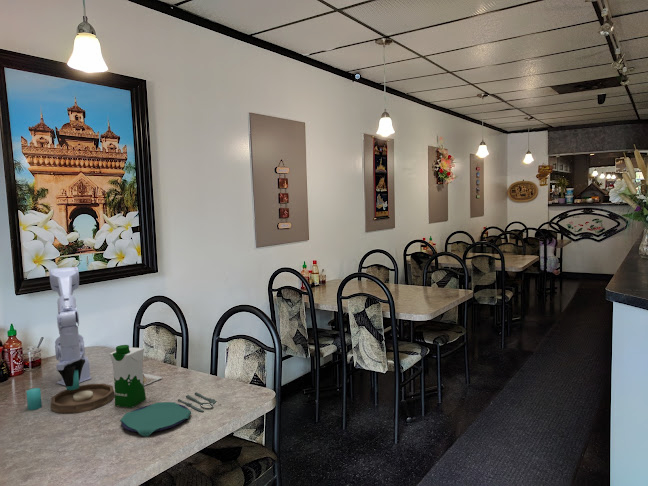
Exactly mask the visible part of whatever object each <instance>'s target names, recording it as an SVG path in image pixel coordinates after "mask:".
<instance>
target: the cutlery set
mask: <svg viewBox="0 0 648 486" xmlns="http://www.w3.org/2000/svg"><path fill="white" fill-rule="evenodd" d="M194 395H195V396H197V397H199V398H200V397H201V399H202V398H203V400H206V401H208V402H201V401H199V400H197V398H195V397H193V396H191V395H189V394H187V395H185V398H186V399H189V400H191V401H194V402H196V403H198V404H199V406H200V407H201V408H202V409H201V408H199V407H197V406H195V405H193V404H192V403H191V402H186V401H183V400H182V399H181V398H178V399H177V401H178V402H180V403H183V405H182V404H180V403H176V402H173V401H164V402H163V401H161V402H159V401H158V402H155V403H152V404H148V405H145V406H141V407H139V408H137V409H134V410H131V411H129V412H126V413H125V414H124V415H123V416H122V417H121V419H120V420H119V422H121V427H122V428H124V429H125V430H127V431H130V432H136V433H138V434H139V435H140V436H143V437H149V436H150V435H151V434H152V433H154V432H158V431H159V432H161V431H164V430H168V429H171V428H174V427H176V426H178V425H180V424H182V423H183V422H184V421H188V420H189V418H190V416H191V415H192V411H191V409H194V410H195V411H197V412H199V413H204V412H205V411H204V408H205V409H206V410H210V409H211V406H212V408H214V404H215V403H216V402H218V401H217V400H216V399H214V398H212V397H206V396H204V395H202V394H201V393H199V392H198V391H197V392H194ZM211 403H213V404H211ZM184 404H185V405H184ZM203 404H210V405H211V406H210V405H209V406H210V407H203V406H204V405H203ZM201 405H202V406H201ZM187 406H188V407H189V408H191V409H189V408H188V407H187Z"/></svg>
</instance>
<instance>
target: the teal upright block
mask: <svg viewBox="0 0 648 486" xmlns="http://www.w3.org/2000/svg"><path fill="white" fill-rule="evenodd" d="M79 386H80V383H79V376H78V370H76V369H75V371H74V376H73V386H65V387H66V389H65V390H75V389H78V388H79Z"/></svg>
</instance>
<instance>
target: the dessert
mask: <svg viewBox="0 0 648 486" xmlns="http://www.w3.org/2000/svg"><path fill="white" fill-rule="evenodd" d="M145 377H146V378H148V379H149V378H150V379H154V380H152V381H150V382H148V383H146V382H147V380H146V378H145ZM163 378H164V377H161V376H158V375H153V374H149V373H144V372H143V380H144V383H145V384H144V387H145V386H148V385H150V384H153V383H155V382H157V381H160V380H162V379H163Z"/></svg>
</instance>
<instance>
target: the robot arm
mask: <svg viewBox="0 0 648 486" xmlns="http://www.w3.org/2000/svg"><path fill="white" fill-rule="evenodd" d="M48 272H49V283H50V288H51V290H52V291H53V292H56V293H57V294H58V296H59V298H58V299H57V301H56V302H57V314H56V320H57V321H56V322H57V329H58V333H59V336H58V337H57V338H56V339H55V342H54V350H55V351H54V352H55V360H57V361H58V362H57V363H56V365H55V367H56V371H57V372H58V373H59V374H60V377H61V380H59V381H56V384H58V385H62V386H65V387H66V386H73V376H74V371H75V369H76V370H78V376H79V384H80V383H82V382H85V381H88V380H91V379H92V377H91V369H90V360H89V358H88V357H87V356H86V353H85V352H86V351H85V341H84V337H83V335H81V334H79V325H80V317H79V311H78V308H77V304H76V298H75V296H73V293H74V291H75V290H77V289H79V285H80V273H79V272H80V270H79V267H78V266H70V267H68V266H67V267H57V268H52V267H51V268H50V269H49V270H48Z"/></svg>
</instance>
